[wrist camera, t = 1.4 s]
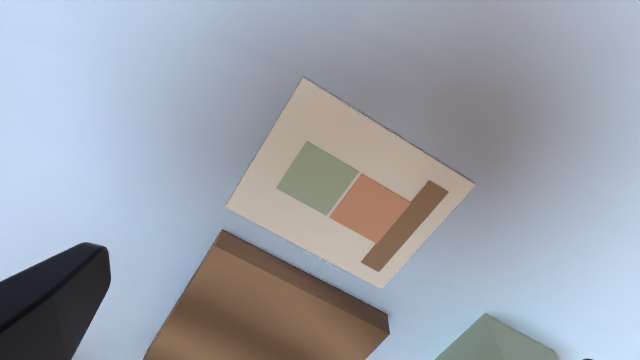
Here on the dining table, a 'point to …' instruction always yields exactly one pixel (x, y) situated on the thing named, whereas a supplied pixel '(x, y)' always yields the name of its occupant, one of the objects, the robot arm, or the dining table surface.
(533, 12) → the dining table surface
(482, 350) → the sage block
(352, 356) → the walnut plate
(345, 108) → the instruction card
